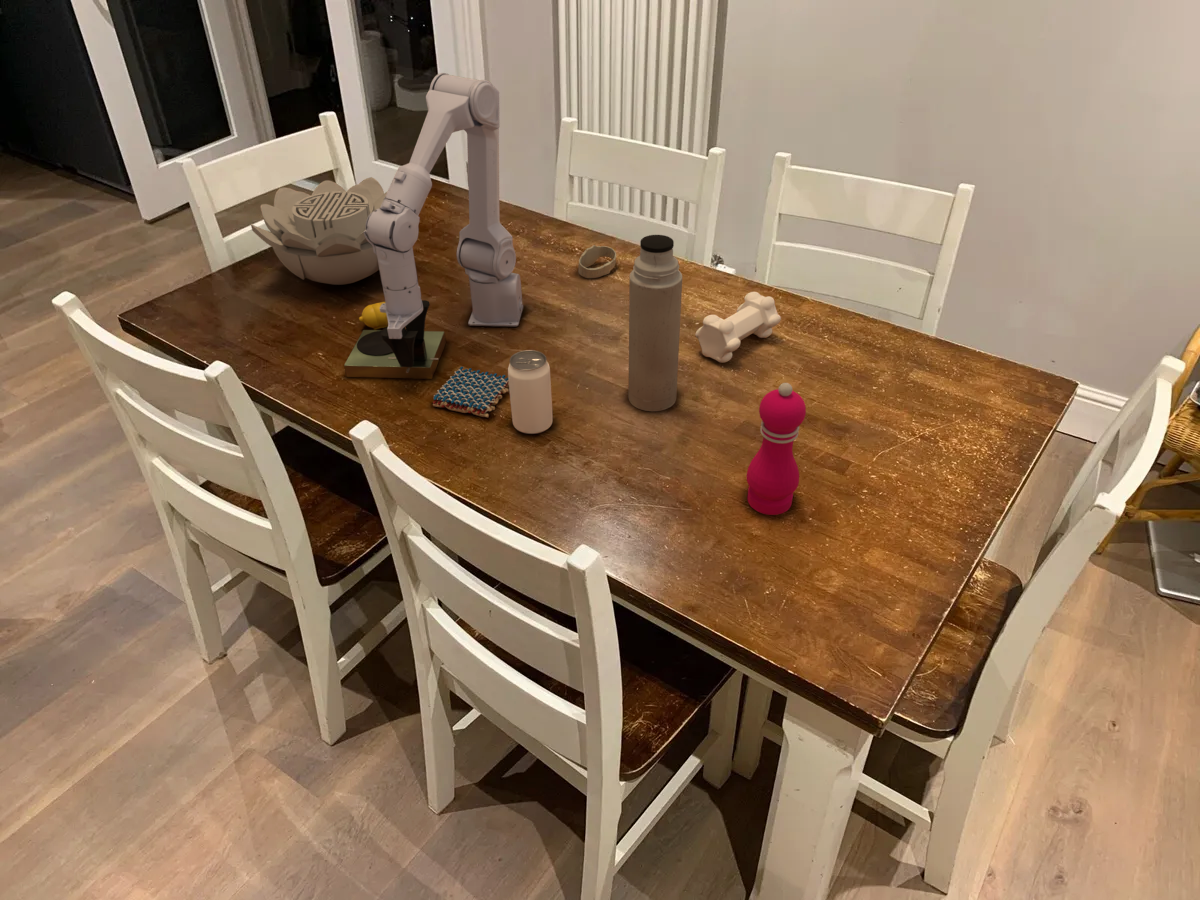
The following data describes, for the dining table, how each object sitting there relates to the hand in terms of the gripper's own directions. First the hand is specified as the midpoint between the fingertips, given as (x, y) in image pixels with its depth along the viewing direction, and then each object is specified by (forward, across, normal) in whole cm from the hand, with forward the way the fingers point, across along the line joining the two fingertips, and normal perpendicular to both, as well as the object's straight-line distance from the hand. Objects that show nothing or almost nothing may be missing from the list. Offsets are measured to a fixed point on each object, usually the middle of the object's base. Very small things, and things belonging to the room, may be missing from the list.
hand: (412, 353), depth 148 cm
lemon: (+3, -16, -10) cm, 19 cm away
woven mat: (+4, +8, +12) cm, 14 cm away
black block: (+1, 0, 0) cm, 1 cm away
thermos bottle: (+4, +6, +42) cm, 42 cm away
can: (+4, +14, +22) cm, 27 cm away
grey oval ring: (+3, -40, +30) cm, 49 cm away
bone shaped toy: (+4, -10, +56) cm, 58 cm away
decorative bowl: (+4, -36, -22) cm, 43 cm away
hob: (+4, -3, -4) cm, 6 cm away
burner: (+1, -5, -7) cm, 9 cm away
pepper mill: (+4, +32, +58) cm, 67 cm away
